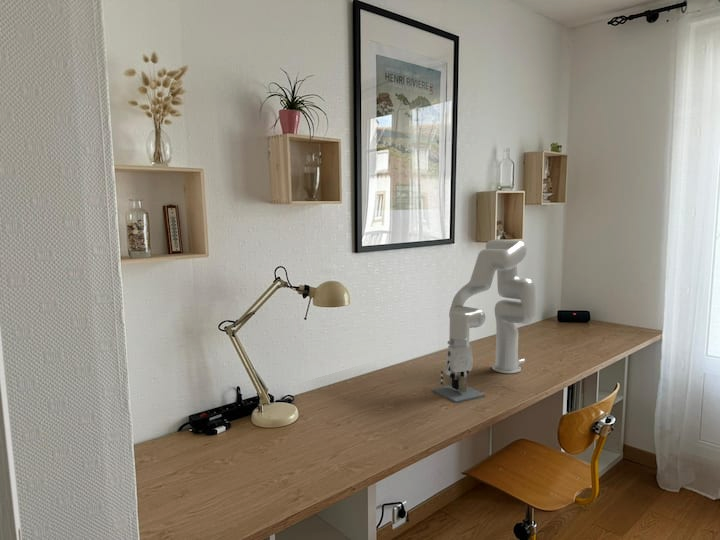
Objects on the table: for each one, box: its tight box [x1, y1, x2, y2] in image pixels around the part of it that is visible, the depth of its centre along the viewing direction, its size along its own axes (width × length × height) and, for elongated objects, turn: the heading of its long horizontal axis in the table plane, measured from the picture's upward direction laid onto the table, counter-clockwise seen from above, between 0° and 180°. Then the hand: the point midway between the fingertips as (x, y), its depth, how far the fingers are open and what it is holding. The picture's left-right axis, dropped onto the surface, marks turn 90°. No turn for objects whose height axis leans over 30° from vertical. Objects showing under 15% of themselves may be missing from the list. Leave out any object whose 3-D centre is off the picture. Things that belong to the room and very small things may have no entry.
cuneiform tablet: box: [440, 370, 468, 392], centre depth 200 cm, size 6×4×12 cm
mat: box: [431, 384, 486, 404], centre depth 199 cm, size 14×15×1 cm
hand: (458, 387), depth 199 cm, fingers closed on cuneiform tablet, 2 cm apart
